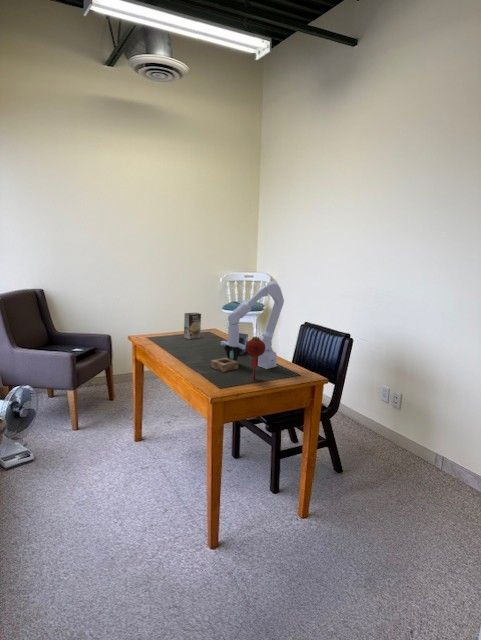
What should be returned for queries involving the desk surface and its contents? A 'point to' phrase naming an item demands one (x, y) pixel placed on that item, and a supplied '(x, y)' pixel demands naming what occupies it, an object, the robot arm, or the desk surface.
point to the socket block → (224, 364)
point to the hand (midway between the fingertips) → (232, 360)
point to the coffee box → (192, 325)
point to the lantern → (255, 350)
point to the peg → (231, 355)
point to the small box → (242, 342)
